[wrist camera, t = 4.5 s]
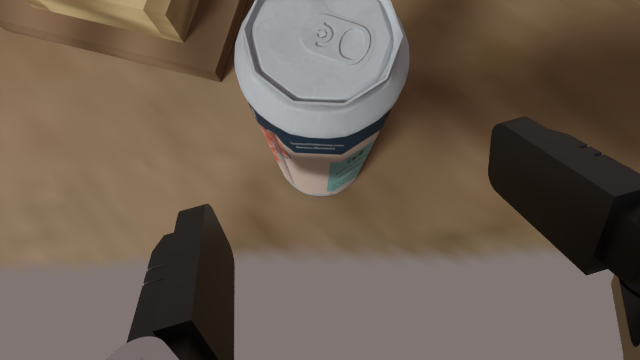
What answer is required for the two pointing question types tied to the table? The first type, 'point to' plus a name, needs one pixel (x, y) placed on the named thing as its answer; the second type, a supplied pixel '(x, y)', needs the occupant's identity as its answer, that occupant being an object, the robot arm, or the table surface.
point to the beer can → (321, 83)
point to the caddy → (136, 29)
